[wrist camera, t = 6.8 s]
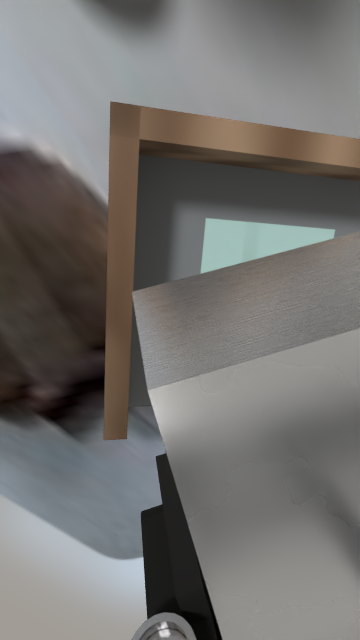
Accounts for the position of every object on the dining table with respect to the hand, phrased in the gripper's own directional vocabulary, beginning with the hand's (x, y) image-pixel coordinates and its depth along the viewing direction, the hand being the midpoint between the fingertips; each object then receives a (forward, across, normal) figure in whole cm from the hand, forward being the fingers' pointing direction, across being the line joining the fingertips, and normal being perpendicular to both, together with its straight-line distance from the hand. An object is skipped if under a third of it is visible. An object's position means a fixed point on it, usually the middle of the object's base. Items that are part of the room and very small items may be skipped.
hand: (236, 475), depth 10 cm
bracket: (+1, -3, -1) cm, 3 cm away
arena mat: (+16, -6, 0) cm, 17 cm away
